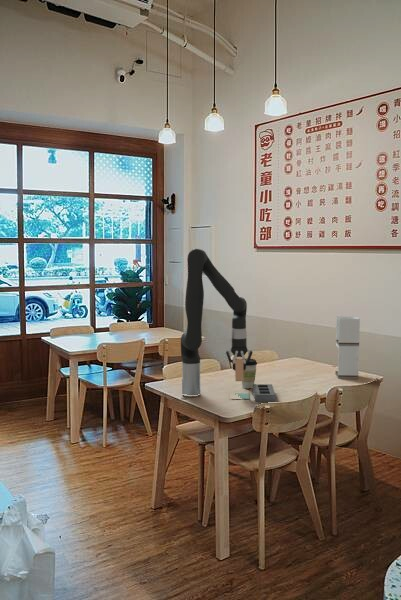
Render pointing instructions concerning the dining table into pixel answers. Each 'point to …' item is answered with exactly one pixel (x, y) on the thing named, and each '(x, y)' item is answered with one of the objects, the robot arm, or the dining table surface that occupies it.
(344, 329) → the white banded pillar
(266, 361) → the dining table surface
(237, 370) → the terracotta peg
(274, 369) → the dining table surface
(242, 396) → the green mat
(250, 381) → the coffee cup
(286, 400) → the dining table surface
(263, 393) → the grey socket block
